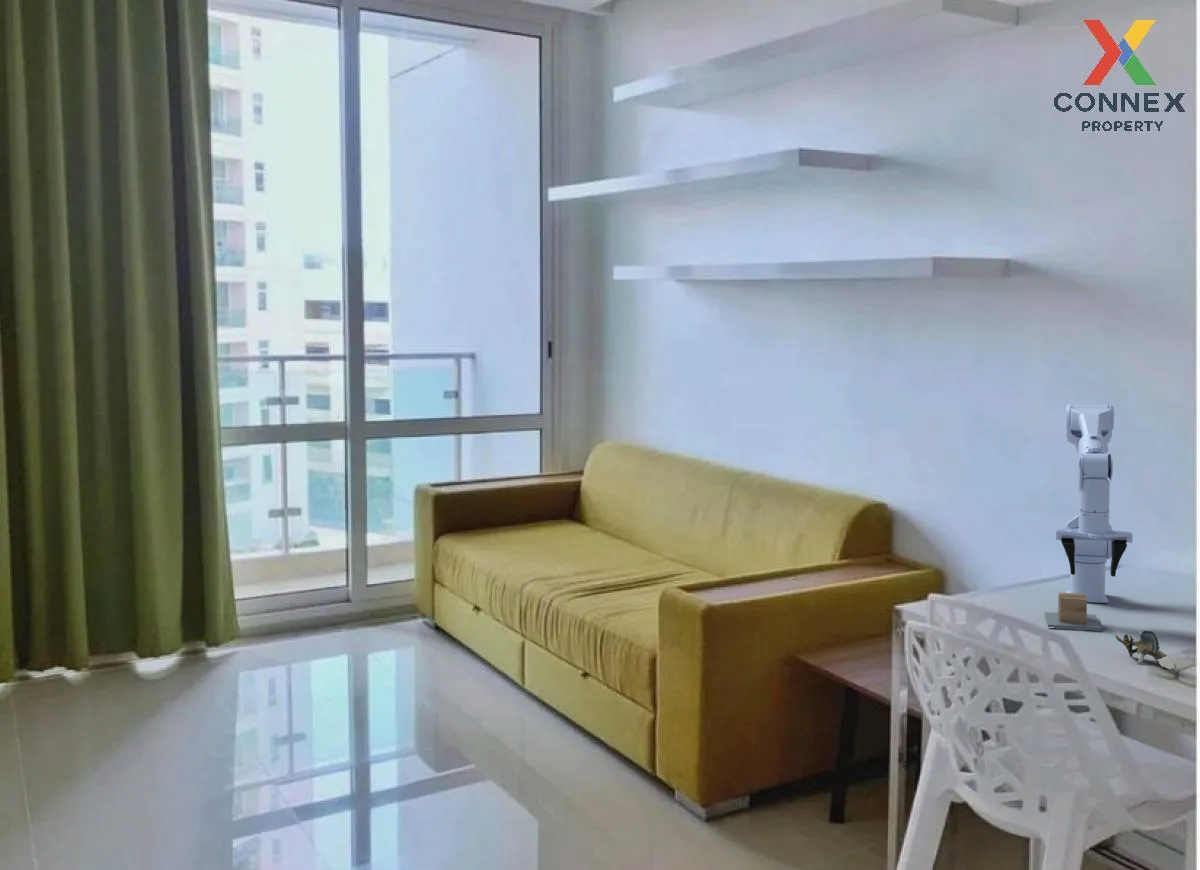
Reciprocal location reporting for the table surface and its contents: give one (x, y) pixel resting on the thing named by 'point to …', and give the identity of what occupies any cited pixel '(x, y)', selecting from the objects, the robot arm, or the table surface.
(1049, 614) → the slate coaster
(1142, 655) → the eagle figurine
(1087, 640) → the table surface
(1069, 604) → the walnut cube
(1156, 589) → the table surface
